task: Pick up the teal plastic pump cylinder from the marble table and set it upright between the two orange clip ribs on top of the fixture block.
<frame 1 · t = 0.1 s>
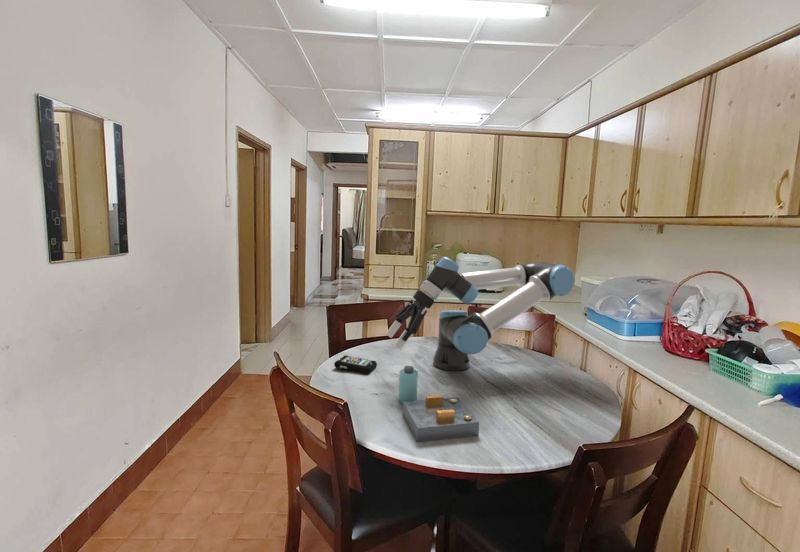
hand: (392, 341, 148), 15 cm above the table, tool tilted 35°, fingers open, 13 cm apart
pump: (407, 400, 135), on the table
phone: (355, 369, 162), on the table
fixture block: (438, 424, 119), on the table
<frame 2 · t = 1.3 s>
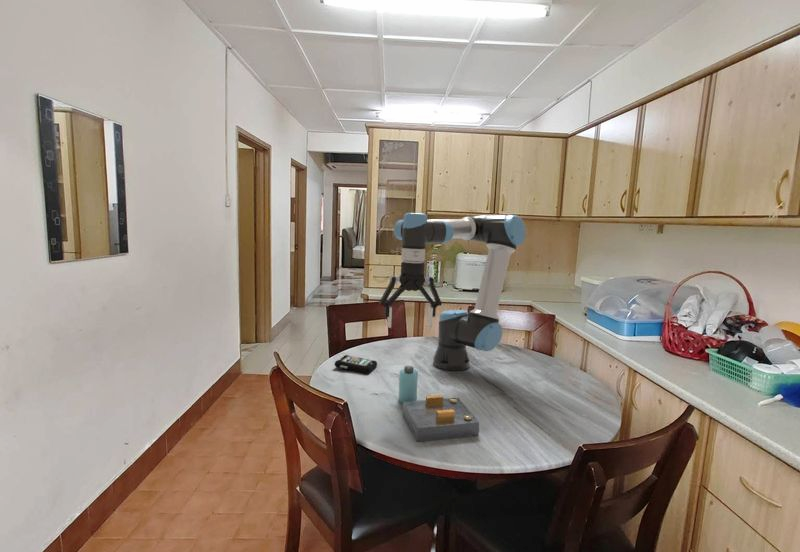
hand: (409, 326, 132), 25 cm above the table, tool pointing down, fingers open, 13 cm apart
nothing on the table moved.
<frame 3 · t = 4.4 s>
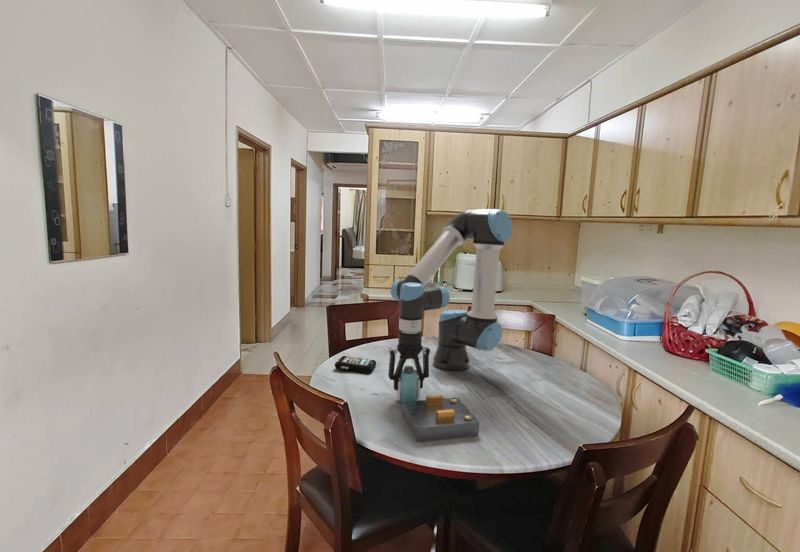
hand: (407, 398, 134), 1 cm above the table, tool pointing down, fingers closed on pump, 6 cm apart
pump: (407, 400, 135), on the table, touching gripper
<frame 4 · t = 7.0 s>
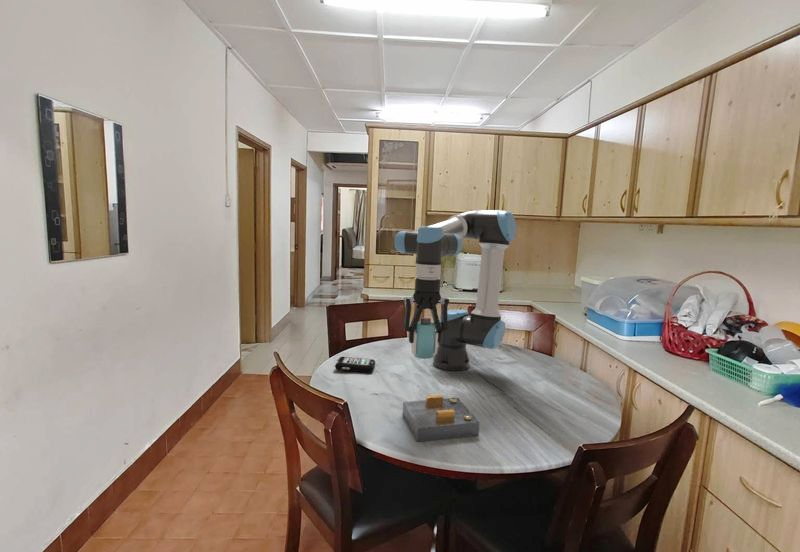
hand: (424, 352, 124), 19 cm above the table, tool pointing down, fingers closed on pump, 6 cm apart
pump: (423, 355, 124), point 19 cm above the table, touching gripper
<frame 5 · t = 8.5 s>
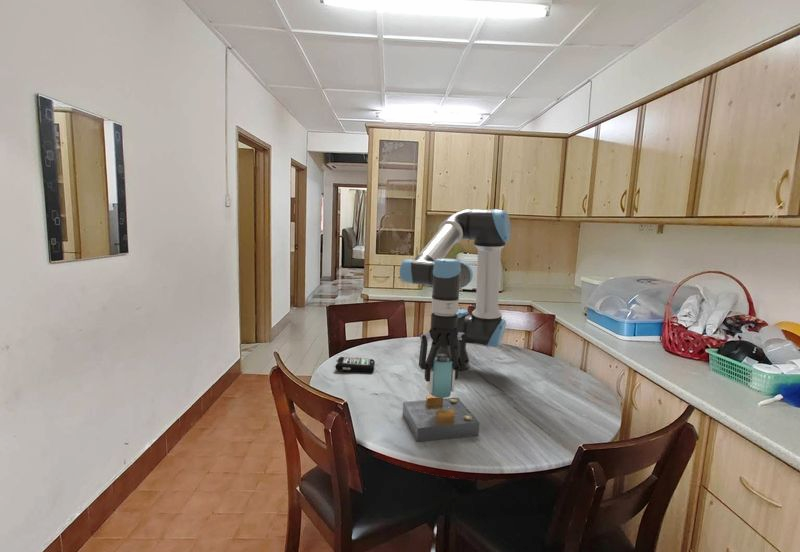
hand: (440, 390, 118), 11 cm above the table, tool pointing down, fingers closed on pump, 6 cm apart
pump: (440, 393, 118), point 10 cm above the table, touching gripper
when the fingers open (6 cm above the table, at t = 9.8 s): pump drops 1 cm, resting on fixture block.
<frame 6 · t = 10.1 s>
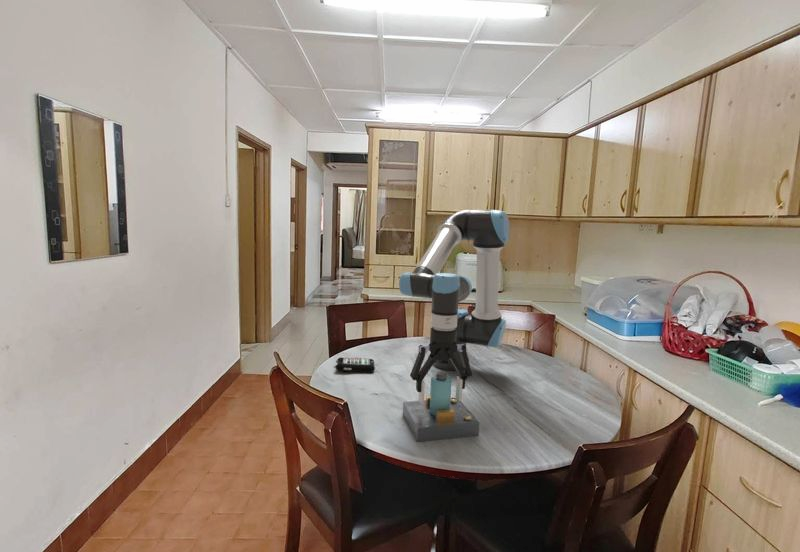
hand: (440, 400, 118), 7 cm above the table, tool pointing down, fingers open, 11 cm apart
pump: (439, 411, 119), point 4 cm above the table, touching fixture block
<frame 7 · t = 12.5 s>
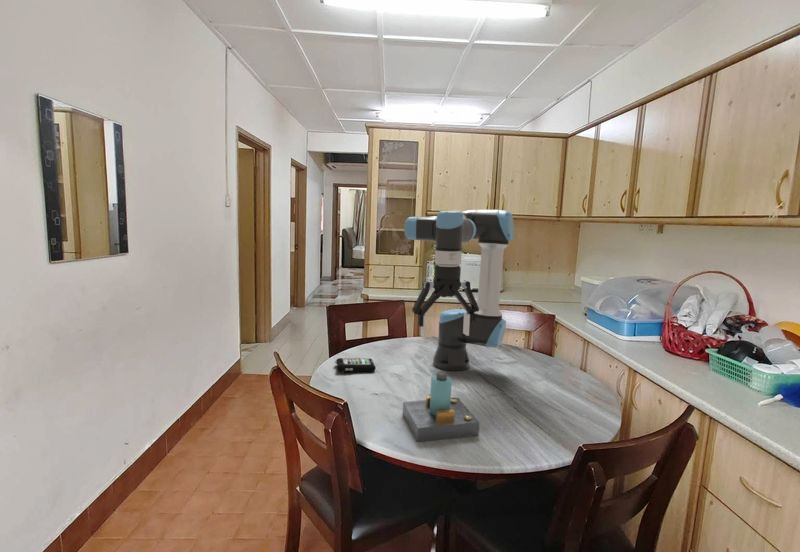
hand: (444, 335, 121), 26 cm above the table, tool pointing down, fingers open, 13 cm apart
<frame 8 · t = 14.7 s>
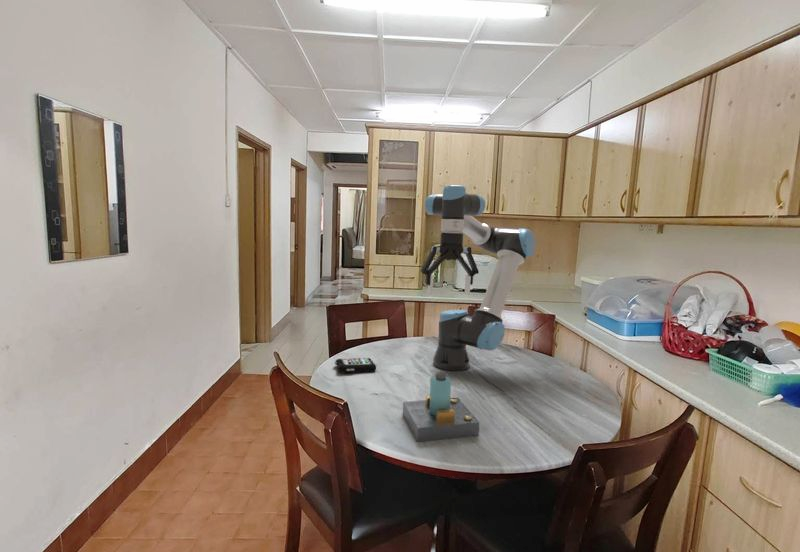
hand: (448, 294, 139), 35 cm above the table, tool pointing down, fingers open, 13 cm apart
at the end: pump 0.0 cm off-centre on the fixture block, point 4.0 cm above the fixture block's base; pump tilted 1°; the gripper is holding nothing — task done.
